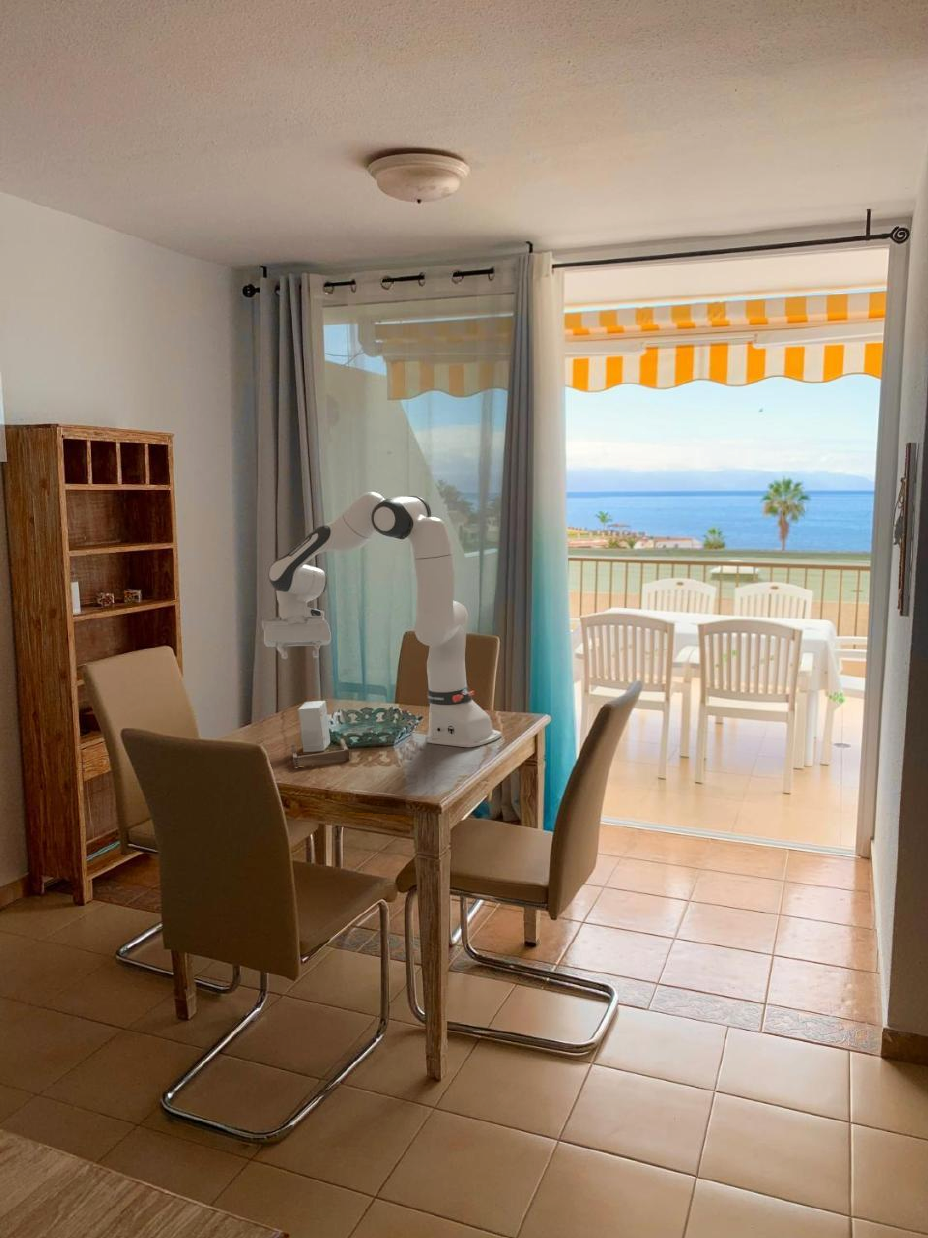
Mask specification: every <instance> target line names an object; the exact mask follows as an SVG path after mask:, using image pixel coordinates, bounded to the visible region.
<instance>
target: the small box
mask: <svg viewBox="0 0 928 1238" xmlns="http://www.w3.org/2000/svg"><path fill="white" fill-rule="evenodd" d="M326 702H327V701H326V700H317V701H315V700H313V701H305V702H304V703H303V704H301V706H300V707H299V708H298V709H297V711H298V717H299V725H300V732H301V733H300V734H301V741H302V742H301V743H302V749H303V750H302V751H303V753H310V752H313V753H314V752H324V751H325V750H326V748H327V747H328V746H329V745H330V743H331V737H330V730H329V728H330V727H329V719H328V710H327V703H326Z"/></svg>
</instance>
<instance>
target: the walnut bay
mask: <svg viewBox="0 0 928 1238" xmlns="http://www.w3.org/2000/svg"><path fill="white" fill-rule="evenodd" d="M339 741H340V750H333V751H325V752H319V753H318V752H317V753H313V754H306V755H300V756H298V755H297V750H296V745H295V744H294V745H290V749H291V758H292V757H293V758H292V761H293V766H295V767H299V766H310V767H313V766H312V765H317V766H323V765H329V764H336V763H341V762H346V761H350V754H349V749H348V745H347V744H346V741H345V739H344V738H343V737H342V738H339ZM295 767H294V768H295Z"/></svg>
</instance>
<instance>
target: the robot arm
mask: <svg viewBox="0 0 928 1238" xmlns="http://www.w3.org/2000/svg"><path fill="white" fill-rule="evenodd" d="M377 532H378V534H380V535H383V536H386V537H390V538H394V539H399V540H405V539H407V540H408V541H410V544H411V546H412V554H413V560H414V570H415V577H416V585H417V587H416V588H417V591H416V592H417V594H416V597H417V598H416V617H415V623H414V626H413V630H414V634H415V637H416V639H417V640H418V641H419V642H420V643H422V644H423V645H425V646H427V647H429V649H428V657H427V661H426V673H427V682H428V689H427V698H428V699H427V701H428V703H429V713H428V732H427V739H426V740H427V741H426V742H427V743H428V744H437V745H442V746H443V745H445V746H453V747H461V748H462V747H463V748H473V747H478V746H483V745H486V744H489V743H491V742H494V741H496V740H497V739H499V738H500V737H501V736H502V732H501V731H498V730H495V729H494V728H493V724H492V720H491V717H490V715H489V714H488V713H487V712H486V711H484V710H483V708H481V706H479V704H477V703H476V702H475V701H474V700H473V695H475V693H474V692H475V690H470V688H469V686H468V685H467V677H466V676H467V675H466V674H467V673H466V661H465V659H466V658H465V657H466V656H465V655H466V645H467V644H466V642H467V625H468V620H469V614H468V611H467V609H466V607H465V606H464V604H462V603H461V602H459V601H456V600H454V599H455V596H454V595H455V586H456V583H457V581H456V580H457V579H456V573H455V565H454V557H453V550H452V544H451V539H450V536H449V532H448V528H447V526H446V524H445V522H444V521H443V520H442V519H441V518H439V517H435V516H432V508H431V507H430V504H429V503H428V501H426V500H425V499H424V498H422V497H420V496H416V495H407V496H401V495H399V496H398V495H397V496H394V497H391V498H385V497H383V496H382V494H380V493H377V492H375V491H367V492H365V493H363V494H361V495H360V496H359V497H358V498H356V499H355V500H354V501H353V502H352V503H351V504H350V505H349V506H347V507H346V509H345V510H344V511H343V512H342V514H341V515H339V516H338V517H337V518H335V519H334V520H333V521H330V522H329V523H326V524H323V525H321V526H319V527H317V528H315V529H314V530H312V531H311V532H309V534H308V535H306V537H305V538H303V539H302V540H301V541H300V542H298V543H297V544H296V545H295V546H294V547H292V549H291V550H289V551H288V552H287V553H286V554H283V556H281V557H279V558H277V559H276V560H275V561H274V562H273V563H272V564H271V565H270V567H269V570H268V580H269V583H270V584H271V586H272V588H273V589H274V590H276V600H277V602H278V605H279V607H278V612H279V617H266V618H265V619H263V620H261V622H260V623H261V629H262V630H263V644H264V645H265V646H266V647H267V648H272V647H273V648H276V651H278V652H279V654H280V655H281V659H285V660H287V659H288V657H289V656H288V650H285V649H284V648H283V647H307V646H312V647H313V646H314V648H315V649H313V650H312V657H313V658H319V656H320V653H319V650H320V648H321V647H322V646H328V645H329V644H330V643H331V640H332V632H331V629H330V626H329V622H327V620H326V619H325V612H324V611H323V610H319V609H316V608H312V607H309V606H308V603H309V602H312V601H314V600H316V599H318V598H319V597H321V596H322V595H323V594H324V593H325V592H326V590H327V588H328V577H327V575H326V573H325V571H324V570H323V569H322V568H319V567H316V566H313V565H310V564H307V563H308V562H309V561H310V560H312V559H313V558H314V557H316V555H318V554H320V553H324V552H334V551H335V552H337V551H339V552H352V551H353V552H354V551H357V550H360V549H361V548H363V547H364V546H366V545H367V544H368V543H369V541H371V539H372V538H373V537H374V536H375V534H376V533H377Z"/></svg>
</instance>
